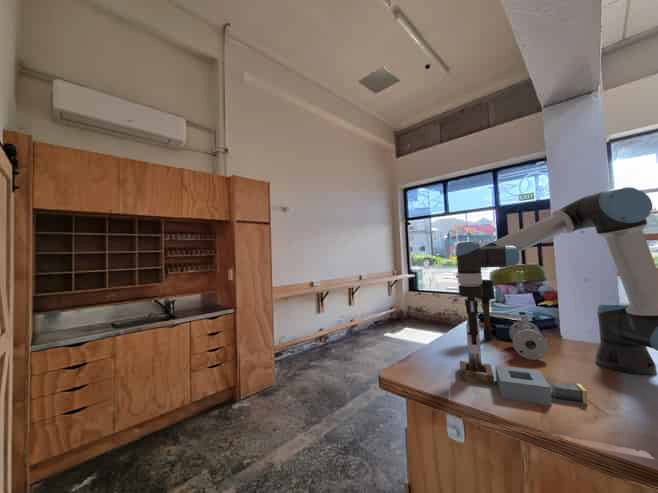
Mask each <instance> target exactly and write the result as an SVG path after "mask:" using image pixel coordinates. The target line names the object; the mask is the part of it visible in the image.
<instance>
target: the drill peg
mask: <svg viewBox="0 0 658 493" xmlns="http://www.w3.org/2000/svg"><path fill="white" fill-rule="evenodd" d="M465 326H466V327H465V328H466V339H467V340H466V342H467V355H468V356H467V357H468V359H467V360H468V362H469V370H470V371H477V372H482V350H481V335H480V324H479V321H478V318H477V326H478V342H479V354H473V353H470V339H469V335H467V333H469V332H470V331H469V318H468V317H467V318H466V325H465Z"/></svg>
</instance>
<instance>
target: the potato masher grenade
mask: <svg viewBox="0 0 658 493" xmlns="http://www.w3.org/2000/svg"><path fill="white" fill-rule="evenodd" d="M480 285H481V286H482V291H483V295H482V296H481V297H475V299H477V300H478V299H479V300H481V306H482V312H483V314H482V315H483V326H484V328H483V338H484V340H485V341H487V340H488V342H489V341H490V342H491V341H492V340H493V335H492V334H493V333H492V329H491V319H490V318H491V315H490V310H491V308H490V300H495V299H496V297H495V290H494V281H493V279H482V284H480Z"/></svg>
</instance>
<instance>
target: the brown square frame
mask: <svg viewBox="0 0 658 493" xmlns="http://www.w3.org/2000/svg"><path fill="white" fill-rule="evenodd" d="M481 363H482V362H481ZM459 376H460V381H461V382H469V383H475V384H483V385H490V386H495V376H494V372H493V368H492V365H491V363H490V364H489V363H482V372H477V371H470V370H469V361H463V360H460V361H459Z"/></svg>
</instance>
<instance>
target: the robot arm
mask: <svg viewBox="0 0 658 493" xmlns="http://www.w3.org/2000/svg"><path fill="white" fill-rule="evenodd" d="M651 211H653V201H652V199H651V198H650V196H649V195H648V194H647V193H646V192H644V191H642V190H640V189H637V188H635V187H630V186H624V187H618V188H612V189H611V188H610V189H608V190H604V191H602V192H597V193H594V194H591V195H586V196H584V197H581V198H579V199H577V200H575V201H573V202H571V203H569V204H567V205H565V206H563V207H561V208H559V209H556V210H555V211H553V212H552V214H551V215H550V216H548V217H545V218H544V219H543V218H542V220H539V221H536V222H534V223H531V224H530V225H528V226H525V227H523V228H521V229H519V230H517V231H514V232H511V233H509V234H506V235H505V236H502V237H501V238H497V239H496V240H493V241H492V242H490V243H487V244H483V246H481V245H480V242H479V241H462V242H458V243H457V244H456V251H455V252H456V254H455V255H456V264H457V265H456V266H457V275H456V276H455V277H456V279H458V280H457V281H458V284H459V285H458V294H459V296H460V297H464V298H465V297H466V300H464V305H465V310H466V315H467V318H469V331H470V332H469V333H467V332H466V336H467V335H469V339H470V353H473V354H479V342H478V326H477V319H478V316H477V315H478V314H479V313H478V312H479V311H478V307H479V303H478V300H476V297H481V296H482V295H483V291H482V286H481V285H480V284H482V280H483V278H482V277H483V276H482V268H483V269H485V268H509V267H516V266H518V265H519V262H520V252H521V251H524V250H526V249H529V248H531V247H533V246H535V245H537V244H540V243H542V242H545V241H547V240H550V239H552V238H554V237H557V236H559V235H561V234H571V233H573V232H574V231H579V230H582V229H583V230H584V229H588V228H595V231H596V233H597V235H599V236H602V237H604V238H605V240H606V244H607V246H608V248H609V251H610V254H611V257H612V260H613V263H614V265H615V267H616V270H617V273H618V275H619V279H620V280H621V283H622V287H623V289H624V292H625V295H626V298H627V300H628V303H626V302H625V303H622V302H621V303H620V302H619V303H618V302H617V303H613V302H611V303H609V302H608V303H600V304H599V305H598V306H597V318H598V330H599V339H600V343H599V345H598V347H597V350H596V353H595V362H596V363H597V365H600V366H602V367H604V368H607V369H609V370H613V371H617V372H623V373H626V374H634V375H653V374H652V373H654V374H656V373H657V365H656V363H655V361H654V359H653V358H652V355H651V354H650V352H649V350H648V348H650V349H654V351H658V269H657V265H656V262H655V259H654V257H653V256H652V253H651V249H650V247H649V244H648V242H647V239H646V237H645V233H644V231H643V230H644V229H645V227H646V226H647V225H648V221H647V218H648V217H649V216H650V215H651ZM655 372H656V373H655Z"/></svg>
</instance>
